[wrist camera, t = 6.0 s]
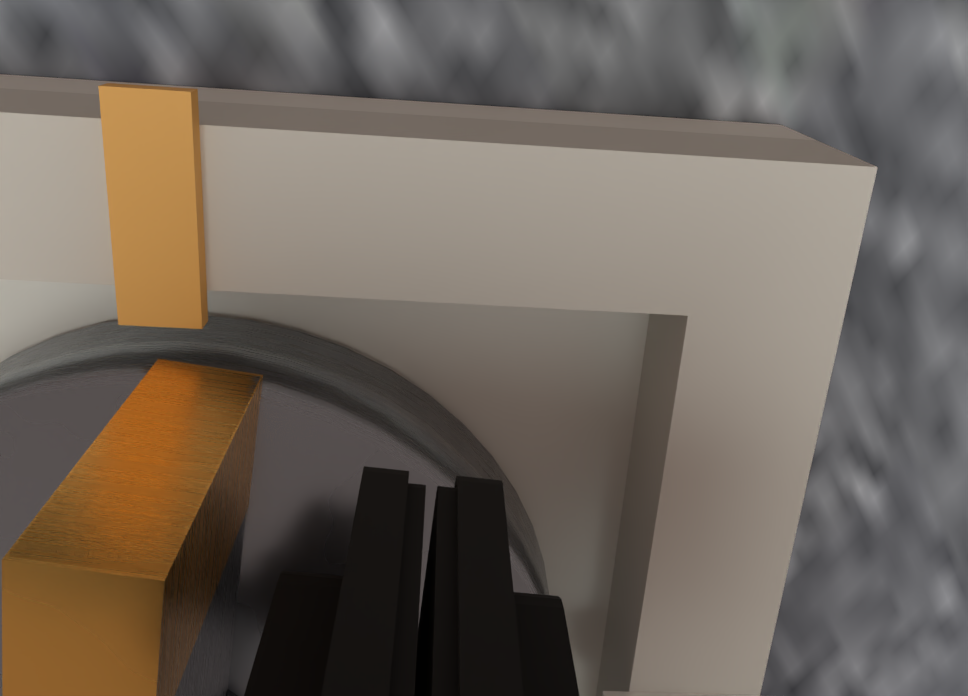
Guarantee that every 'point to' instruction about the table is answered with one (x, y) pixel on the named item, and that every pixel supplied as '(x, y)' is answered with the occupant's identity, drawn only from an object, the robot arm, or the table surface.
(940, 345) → the table surface
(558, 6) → the table surface
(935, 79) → the table surface
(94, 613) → the grey round piece
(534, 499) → the tray
